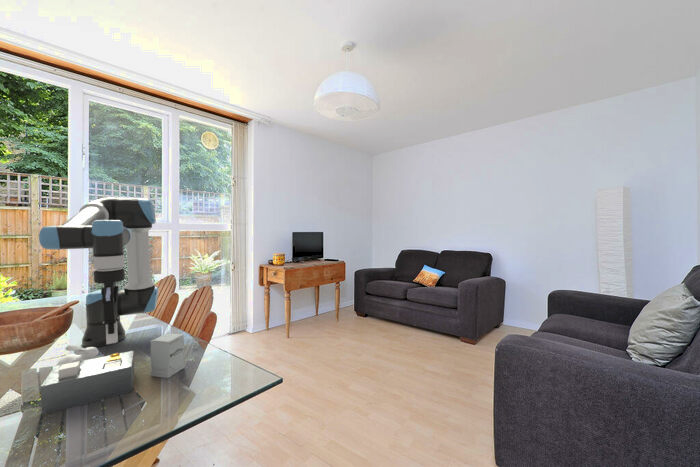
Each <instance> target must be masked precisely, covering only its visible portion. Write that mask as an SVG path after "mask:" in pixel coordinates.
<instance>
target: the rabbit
mask: <svg viewBox="0 0 700 467" xmlns="http://www.w3.org/2000/svg"><path fill="white" fill-rule="evenodd" d="M64 349H65V351H70V352H73V353H72V354H67V355H65V356H63V357H62V358H61V359H59V361H58V362H57V364H56V365H55V366H58V365H62V364H67V363H71V362H73V361H84V360H89V359H94V358H95V357H96V356H98V355H99V350H98V348H97V347H85V348H84V347H80V346H78V345H74V344H68V345H66V347H65V348H64Z"/></svg>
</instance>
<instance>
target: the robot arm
mask: <svg viewBox="0 0 700 467" xmlns="http://www.w3.org/2000/svg"><path fill="white" fill-rule="evenodd" d="M156 221H157V220H156V212H155V207H154V204H153V202H152V201H151V199H148V198H140V197H103V198H99V199H96V200H93V201H90V202H87V203H86V204H84V205H82V207H81V208H80V209H79V211H78V212H77V213H76V214H74V215H72V217H70V218H69V219H68V220H66V221H65V222H63V223H62V224H60V225H54V224H53V225H48V226H47V225H45V226H42V228H41V229H40V231H39V234H38V239H39V244H40V246H41V247H42V249H45V250H57V251H59V250H78V249H92V256H93V257H92V259H90V262H91V263H93V269H94V271H93V282H94V283H95V284H100V285H101V284H103V286H102V288H101V289H97V290H95V291H91V292H89V293H88V294H86V296H85V297H86V298H85V303H84V304H85V311H86V313H85V314H86V328H85V330H84V334H83V335H82V338H81V346H82V347H83V348H84V347H85V348H87V347H95V348H97V347H103V346H107V345H108V346H109V345H111V344H117V343H118V342H120V341H122V340H124V339H125V338H126V330H125V329H124V326H123V324H122V322H121V316H122V317H123V316H129V315H138V314H139V315H140V314H147V313H151V312H154V311H155V310H156V308H157V302H158V297H159V287H158V286H155V282H153V281H152V280H151V262H150V261H151V260H150V259H151V257H150V242H149V241H150V240H149V239H150V236H149V232H150V230H151V229H153V225H155V224H156V223H157V222H156ZM124 246H125V247H126V248H125V249H126V265H125V253H124V252H125V249H124ZM125 266H126V268H127V283H126V284H125V285H124V287H123V289H120V287H119V285H117V283H119V282H122V281H124V280H125V279H126V275H125V274H126V273H125V272H126V271H125V268H124V267H125Z"/></svg>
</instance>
